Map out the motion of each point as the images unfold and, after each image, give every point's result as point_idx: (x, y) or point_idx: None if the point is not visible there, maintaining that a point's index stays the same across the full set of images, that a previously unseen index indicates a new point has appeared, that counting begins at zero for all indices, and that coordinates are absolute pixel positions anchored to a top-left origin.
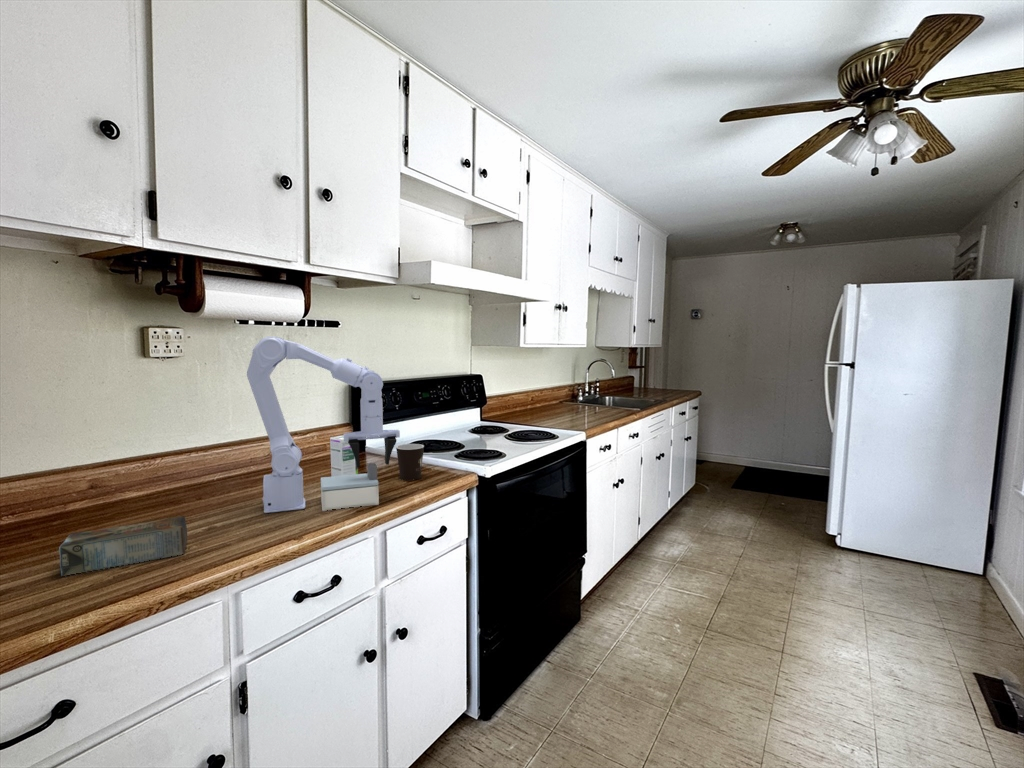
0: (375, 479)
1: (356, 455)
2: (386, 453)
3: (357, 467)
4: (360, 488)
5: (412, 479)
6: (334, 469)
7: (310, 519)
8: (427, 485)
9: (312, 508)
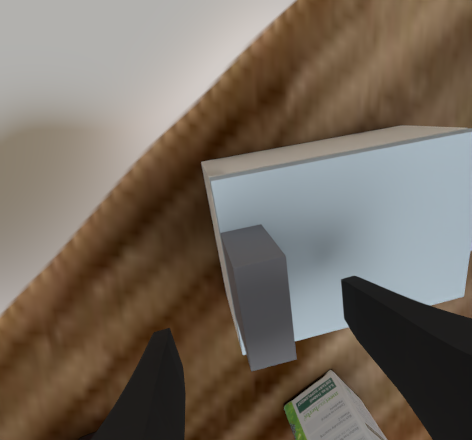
0: (229, 232)
1: (428, 311)
2: (166, 412)
3: (355, 276)
4: (298, 159)
5: (91, 435)
6: (383, 438)
7: (443, 35)
8: (16, 377)
9: None
